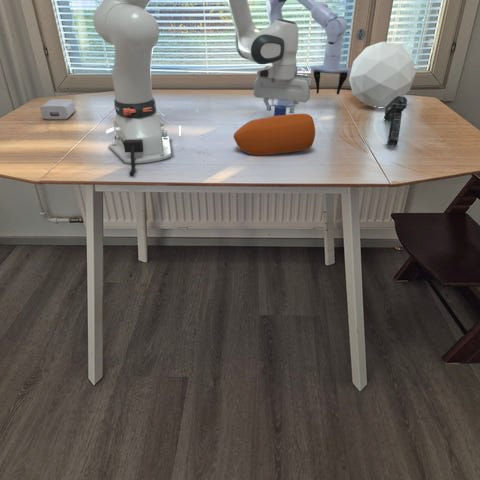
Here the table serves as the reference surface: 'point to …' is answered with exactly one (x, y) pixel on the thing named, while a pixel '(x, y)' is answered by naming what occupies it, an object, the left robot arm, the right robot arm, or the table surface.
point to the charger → (57, 109)
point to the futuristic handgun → (395, 118)
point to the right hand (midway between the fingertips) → (327, 93)
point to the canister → (279, 110)
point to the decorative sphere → (381, 74)
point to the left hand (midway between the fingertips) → (280, 111)
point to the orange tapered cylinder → (276, 134)
